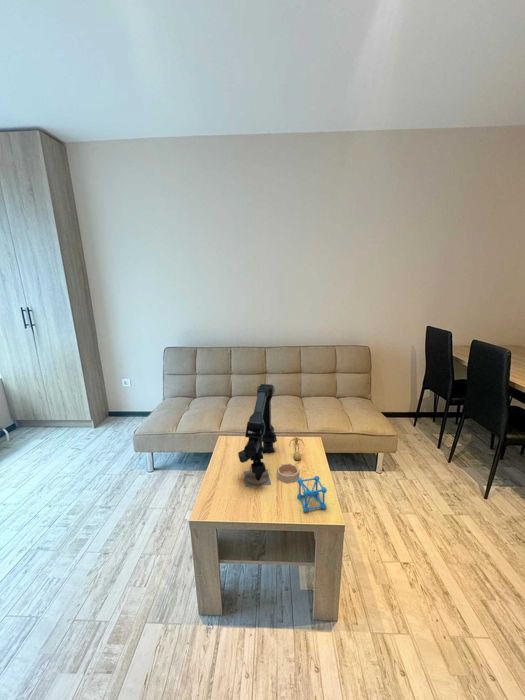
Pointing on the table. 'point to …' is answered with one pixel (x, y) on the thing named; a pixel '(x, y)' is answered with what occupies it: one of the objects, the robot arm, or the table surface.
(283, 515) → the table surface
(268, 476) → the mat
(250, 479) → the lid
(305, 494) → the molecular structure
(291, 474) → the bowl
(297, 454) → the figurine
